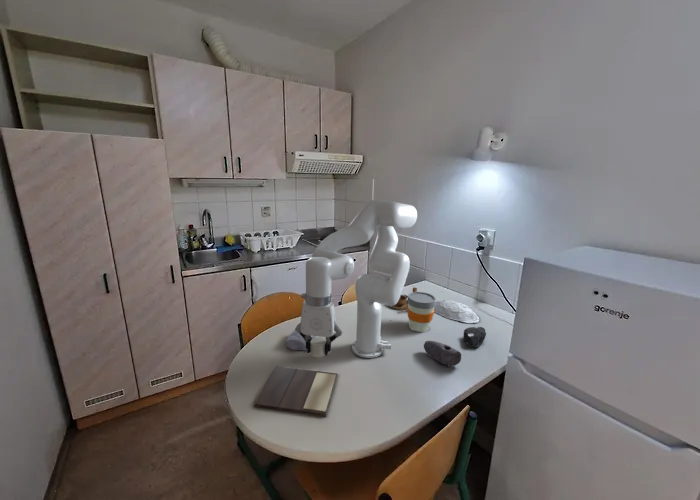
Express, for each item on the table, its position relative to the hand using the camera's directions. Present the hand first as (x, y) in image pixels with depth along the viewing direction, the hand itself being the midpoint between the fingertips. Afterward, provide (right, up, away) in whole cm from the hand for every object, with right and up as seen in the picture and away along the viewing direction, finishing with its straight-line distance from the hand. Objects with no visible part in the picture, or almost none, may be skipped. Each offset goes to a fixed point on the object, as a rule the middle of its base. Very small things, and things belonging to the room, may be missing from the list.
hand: (318, 351), depth 93 cm
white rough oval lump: (+63, -1, +59) cm, 87 cm away
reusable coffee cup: (+42, -4, +45) cm, 61 cm away
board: (-7, -14, +3) cm, 16 cm away
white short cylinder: (0, 0, 0) cm, 0 cm away
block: (-11, -7, +30) cm, 33 cm away
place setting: (+40, +2, +67) cm, 79 cm away
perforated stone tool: (+44, -11, +21) cm, 50 cm away
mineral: (+63, -8, +34) cm, 72 cm away
